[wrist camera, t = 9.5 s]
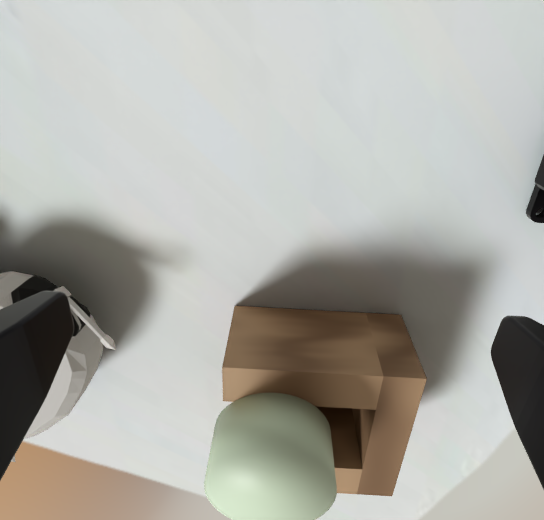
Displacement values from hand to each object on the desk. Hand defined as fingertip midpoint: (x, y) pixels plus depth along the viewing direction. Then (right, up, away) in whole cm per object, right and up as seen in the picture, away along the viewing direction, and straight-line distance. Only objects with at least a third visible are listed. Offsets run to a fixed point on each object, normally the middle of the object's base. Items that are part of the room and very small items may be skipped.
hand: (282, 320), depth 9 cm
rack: (+2, -6, +17) cm, 18 cm away
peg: (0, -6, +15) cm, 17 cm away
